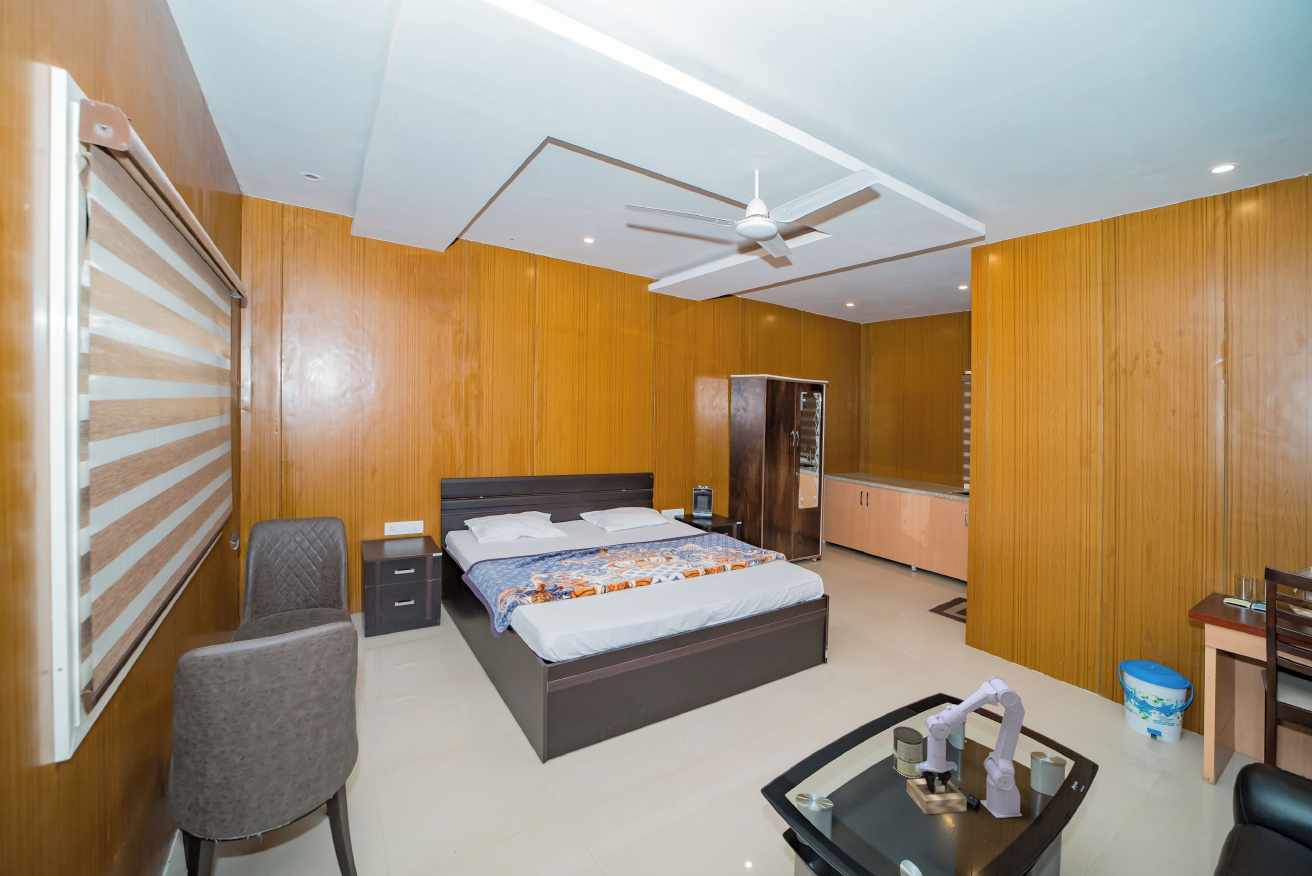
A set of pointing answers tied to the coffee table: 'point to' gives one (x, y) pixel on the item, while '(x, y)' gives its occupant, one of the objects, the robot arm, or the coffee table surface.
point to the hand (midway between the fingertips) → (935, 790)
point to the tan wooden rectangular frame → (936, 798)
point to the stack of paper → (938, 787)
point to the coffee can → (907, 751)
